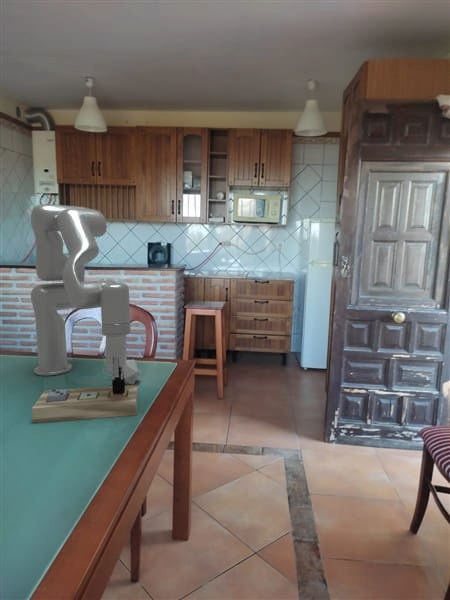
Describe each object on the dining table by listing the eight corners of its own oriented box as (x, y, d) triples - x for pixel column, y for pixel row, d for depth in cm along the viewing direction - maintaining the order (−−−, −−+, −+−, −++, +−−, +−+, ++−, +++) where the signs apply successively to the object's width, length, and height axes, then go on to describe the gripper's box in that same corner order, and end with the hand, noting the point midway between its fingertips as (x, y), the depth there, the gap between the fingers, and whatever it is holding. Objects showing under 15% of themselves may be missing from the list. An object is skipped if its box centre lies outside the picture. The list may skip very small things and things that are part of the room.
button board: (45, 404, 110) (44, 390, 109) (137, 397, 115) (137, 385, 114) (32, 423, 98) (31, 408, 98) (136, 415, 103) (135, 401, 103)
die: (125, 392, 121) (143, 365, 123) (103, 377, 122) (121, 351, 124) (131, 391, 129) (147, 367, 131) (110, 378, 130) (126, 353, 132)
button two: (111, 400, 110) (111, 389, 109) (127, 399, 110) (126, 388, 110) (109, 406, 105) (109, 395, 105) (126, 405, 106) (126, 394, 106)
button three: (51, 400, 106) (51, 389, 106) (68, 399, 107) (67, 388, 107) (47, 406, 102) (46, 395, 102) (65, 405, 103) (64, 394, 103)
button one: (82, 402, 108) (81, 392, 108) (98, 401, 109) (97, 391, 108) (79, 409, 104) (78, 398, 103) (96, 408, 105) (95, 397, 104)
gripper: (105, 323, 111) (108, 384, 114) (98, 335, 97) (101, 404, 99) (131, 322, 113) (133, 382, 115) (128, 333, 98) (131, 401, 101)
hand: (118, 392), depth 107 cm, fingers closed
